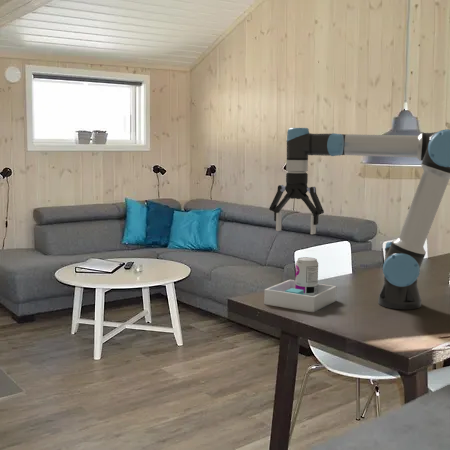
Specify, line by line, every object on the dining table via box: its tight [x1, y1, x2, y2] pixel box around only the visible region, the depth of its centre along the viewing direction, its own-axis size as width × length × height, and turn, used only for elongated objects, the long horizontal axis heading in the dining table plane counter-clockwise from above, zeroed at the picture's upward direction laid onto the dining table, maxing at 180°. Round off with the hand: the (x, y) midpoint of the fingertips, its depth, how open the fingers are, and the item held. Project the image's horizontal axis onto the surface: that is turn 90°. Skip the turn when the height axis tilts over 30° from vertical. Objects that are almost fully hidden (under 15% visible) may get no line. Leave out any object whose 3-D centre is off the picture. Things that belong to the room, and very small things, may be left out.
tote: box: [263, 279, 338, 313], centre depth 232 cm, size 20×20×6 cm
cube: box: [285, 288, 304, 295], centre depth 228 cm, size 5×5×5 cm
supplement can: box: [295, 256, 319, 296], centre depth 234 cm, size 8×8×15 cm
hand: (295, 232), depth 224 cm, fingers open, 13 cm apart
